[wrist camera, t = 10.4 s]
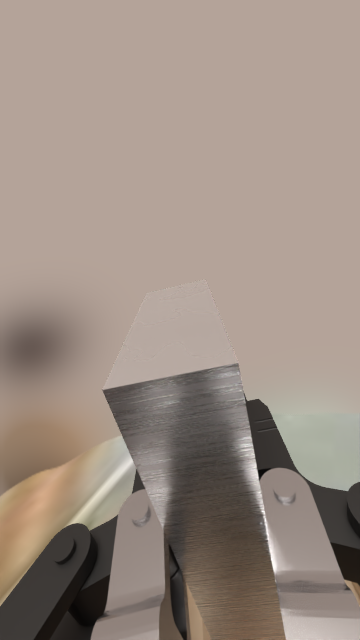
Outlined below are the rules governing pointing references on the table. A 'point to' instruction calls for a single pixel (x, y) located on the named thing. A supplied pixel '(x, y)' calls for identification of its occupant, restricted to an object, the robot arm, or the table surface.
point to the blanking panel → (198, 457)
